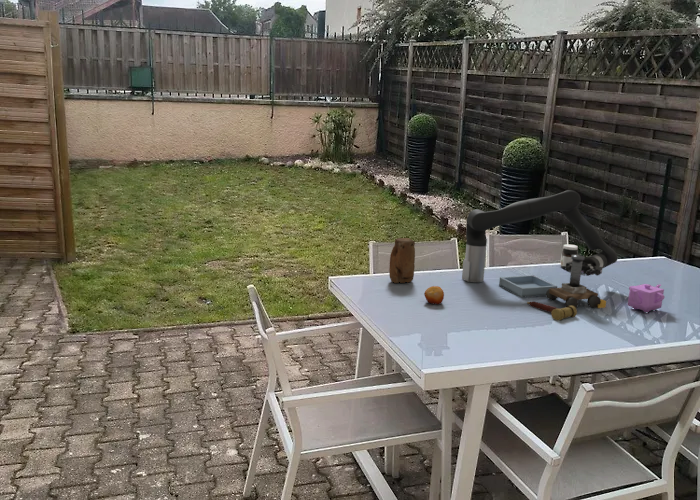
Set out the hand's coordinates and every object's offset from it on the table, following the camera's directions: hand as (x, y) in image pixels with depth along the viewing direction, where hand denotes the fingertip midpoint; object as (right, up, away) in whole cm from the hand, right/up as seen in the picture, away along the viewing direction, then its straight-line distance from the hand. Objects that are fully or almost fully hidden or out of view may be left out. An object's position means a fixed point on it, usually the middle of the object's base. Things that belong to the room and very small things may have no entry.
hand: (577, 271), depth 266 cm
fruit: (-61, -13, -4) cm, 62 cm away
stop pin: (-1, -8, +1) cm, 8 cm away
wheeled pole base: (-1, -14, +2) cm, 14 cm away
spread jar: (+19, -1, +59) cm, 62 cm away
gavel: (-16, -17, -9) cm, 25 cm away
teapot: (+27, -16, -3) cm, 31 cm away
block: (-72, -6, +25) cm, 77 cm away
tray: (-16, -9, +19) cm, 26 cm away
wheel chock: (+9, -15, -1) cm, 18 cm away
